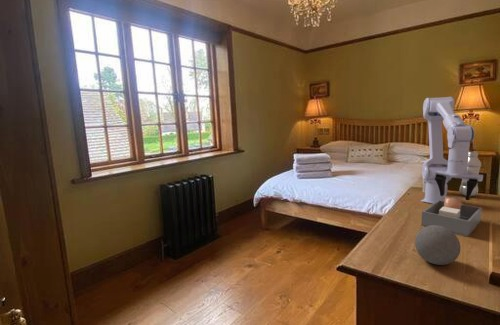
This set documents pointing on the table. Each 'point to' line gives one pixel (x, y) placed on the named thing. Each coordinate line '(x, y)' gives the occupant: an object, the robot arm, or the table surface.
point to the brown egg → (453, 202)
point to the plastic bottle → (473, 168)
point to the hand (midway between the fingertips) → (454, 197)
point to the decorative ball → (437, 245)
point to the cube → (450, 212)
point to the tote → (462, 226)
